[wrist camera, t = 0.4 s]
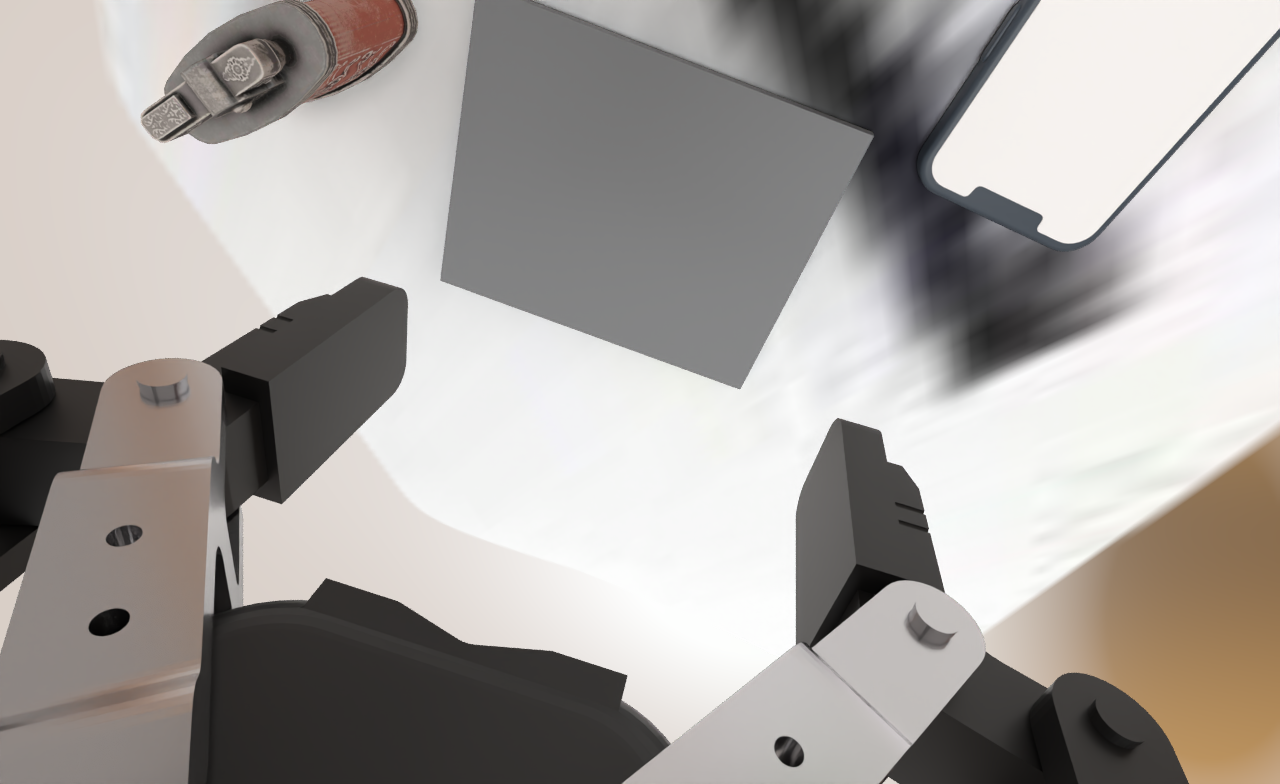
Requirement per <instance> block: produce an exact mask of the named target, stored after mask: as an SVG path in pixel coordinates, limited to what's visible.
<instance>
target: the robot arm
mask: <svg viewBox="0 0 1280 784" xmlns="http://www.w3.org/2000/svg"><path fill="white" fill-rule="evenodd" d="M407 313H408V299H407V295H406V292H405V291H404V290H403V289H402V288H399V287H395V286H392V285H389V284H385V283H382V282H378V281H375V280H372V279H368V278H365V277H361V278H358V279H356V280H355V281H353V282H352V283H350V284H349V285H347V286H345V287H344V288H342V289H341V290H339V291H338V292H336V293H335V294H333V295H328V294H326V295H322V296H319V297H315V298H312V299H308V300H304V301H301V302H298V303H296V304H295V305H293V306H291V307H290V308H288V309H286V310H285V311H283V312H281V313H280V314H278V316H277V318H274V317H273V318H272V319H270V320H268V321H267V322H265V323H264V324H262V325H260V329H257V328H256V329H254V330H252V331H251V332H249V333H247V334H246V335H244V336H242V337H241V338H239V339H238V340H236V341H234V342H233V343H231V344H229V345H228V346H226V347H225V348H223V349H221V350H220V351H218V352H216V353H215V354H213V355H211V356H210V357H208V358H207V359H205V360H203V361H202V362H200V361H196V360H190V359H181V358H165V359H155V360H149V361H144V362H141V363H137V364H134V365H131V366H128V367H126V368H123V369H121V370H119V371H118V372H116V373H114V374H113V375H112V376H111V377H109V378H108V379H107V380H106V381H105V382H94V381H82V380H71V379H58V378H52V376H51V373H50V370H49V367H48V363H47V360H46V357H45V355H44V354H43V352H42V351H41V350H40V349H38V348H36V347H34V346H32V345H29V344H26V343H22V342H17V341H9V340H0V591H2V590H3V589H4V588H5V587H7V585H9V584H10V583H11V582H12V581H14V580H15V579H16V578H18V577H19V576H20V575H21V574H22V573H24V572H25V574H24V577H23V581H22V584H21V587H20V590H19V594H18V597H17V601H16V604H15V608H14V610H13V614H12V617H11V620H10V624H9V627H8V630H7V634H6V637H5V640H4V644H3V647H2V650H1V654H0V784H882V783H883V782H884V781H885V780H886V779H887V778H888V777H890V778H891V779H893V780H894V781H896V782H897V783H899V784H1189V783H1188V780H1187V778H1186V776H1185V774H1184V772H1183V769H1182V767H1181V765H1180V763H1179V761H1178V758H1177V756H1176V754H1175V751H1174V749H1173V747H1172V745H1171V743H1170V741H1169V739H1168V738H1167V736H1166V735H1165V733H1164V732H1163V730H1162V729H1161V727H1160V726H1159V725H1158V724H1157V722H1156V721H1155V720H1154V719H1153V718H1152V717H1151V715H1149V714H1148V712H1147V711H1146V710H1145V709H1144V708H1142V707H1141V706H1140V705H1139V704H1138V703H1137V702H1136V701H1135V700H1133V699H1132V698H1131V697H1129V696H1128V695H1127V694H1126V693H1124V692H1123V691H1121V690H1119V689H1118V688H1116V687H1115V686H1113V685H1111V684H1109V683H1107V682H1106V681H1104V680H1101V679H1099V678H1096V677H1094V676H1090V675H1087V674H1081V673H1067V674H1064V675H1062V676H1060V677H1059V678H1057V680H1055V682H1054V683H1053V684H1052V685H1051V686H1050V687H1049V688H1046V687H1044V686H1042V685H1041V684H1039V683H1037V682H1035V681H1034V680H1032V679H1030V678H1028V677H1026V676H1025V675H1023V674H1021V673H1020V672H1018V671H1016V670H1014V669H1013V668H1010V667H1009V666H1007V665H1005V664H1003V663H1002V662H1000V661H999V660H997V659H996V658H994V657H992V656H991V655H990V654H988V653H987V652H986V648H985V641H984V637H983V635H982V632H981V630H980V628H979V627H978V625H977V623H976V622H975V620H974V619H973V618H972V616H971V615H970V614H969V613H968V612H967V611H966V610H965V609H964V608H963V607H962V606H961V605H960V604H959V603H958V602H956V601H955V600H954V599H953V598H951V597H950V596H948V595H947V594H945V591H944V587H943V583H942V579H941V575H940V571H939V567H938V563H937V559H936V555H935V551H934V547H933V543H932V539H931V535H930V533H928V529H929V527H928V523H927V519H926V515H924V514H923V513H924V507H923V503H922V499H921V495H920V491H919V488H918V487H917V486H916V484H915V483H914V482H913V480H912V479H911V478H910V476H909V475H908V473H907V472H906V471H905V469H904V468H903V467H902V466H899V465H896V464H893V463H889V462H887V459H886V454H885V449H884V444H883V439H882V434H881V432H880V431H879V430H877V429H873V428H870V427H867V426H863V425H860V424H856V423H853V422H850V421H846V420H843V419H839V418H838V419H836V420H835V421H834V422H833V424H832V425H831V427H830V429H829V431H828V433H827V436H826V438H825V440H824V442H823V444H822V446H821V448H820V451H819V453H818V455H817V457H816V459H815V461H814V464H813V466H812V468H811V470H810V472H809V474H808V476H807V479H806V481H805V483H804V485H803V488H802V491H801V494H800V497H799V501H798V506H797V511H796V645H795V646H793V647H792V648H791V649H789V650H788V651H787V652H786V653H784V654H783V655H782V656H781V657H779V658H778V659H777V660H776V661H774V662H773V663H772V664H771V665H769V666H768V667H767V668H766V669H764V670H763V671H762V672H761V673H759V674H758V675H757V676H756V677H754V678H753V679H752V680H751V681H749V682H748V683H747V684H746V685H744V686H743V687H742V688H741V689H739V690H738V691H737V692H736V693H734V694H733V695H732V696H731V697H729V698H728V699H727V700H726V701H724V702H723V703H722V704H721V705H719V706H718V707H717V708H716V709H714V710H713V711H712V712H711V713H709V714H708V715H707V716H706V717H704V718H703V719H702V720H701V721H699V722H698V723H697V724H696V725H694V726H693V727H692V728H691V729H689V730H688V731H687V732H686V733H684V734H683V735H682V736H681V737H679V738H678V739H677V740H676V741H674V742H673V743H672V744H670V742H669V741H668V740H667V739H666V737H665V736H664V735H663V734H662V733H661V732H660V731H659V730H658V729H657V728H656V727H655V726H654V725H653V724H652V723H651V722H650V721H649V720H648V719H647V718H645V717H644V716H643V715H642V714H640V713H639V712H638V711H637V710H635V709H634V708H633V707H631V706H630V705H628V704H626V703H624V702H623V701H622V700H621V699H622V695H623V691H624V687H625V683H626V679H627V675H624V674H621V673H618V672H615V671H612V670H609V669H606V668H603V667H600V666H597V665H594V664H590V663H587V662H584V661H581V660H578V659H575V658H572V657H569V656H565V655H562V654H559V653H556V652H553V651H544V650H532V649H520V648H507V647H496V646H483V645H473V644H468V643H465V642H462V641H460V640H458V639H457V638H455V637H454V636H452V635H450V634H449V633H447V632H446V631H444V630H443V629H441V628H439V627H438V626H436V625H435V624H433V623H431V622H430V621H428V620H427V619H425V618H424V617H422V616H420V615H419V614H417V613H416V612H414V611H413V610H411V609H409V608H408V607H406V606H404V605H403V604H402V603H400V602H398V601H395V600H392V599H389V598H386V597H383V596H380V595H376V594H373V593H370V592H367V591H364V590H361V589H358V588H355V587H352V586H348V585H346V584H342V583H339V582H336V581H333V580H330V579H327V578H326V579H325V580H324V581H323V583H322V584H321V585H320V587H319V588H318V589H317V590H316V591H315V593H314V594H313V595H312V596H311V598H310V599H309V600H308V601H307V600H286V601H285V600H284V601H272V602H264V603H257V604H252V605H247V606H243V515H242V508H241V505H242V504H243V503H244V502H245V501H246V500H247V499H248V498H250V497H251V496H252V495H255V496H258V497H261V498H265V499H267V500H270V501H274V502H277V503H280V504H282V503H283V502H284V501H286V499H287V498H289V497H290V496H291V494H293V493H294V492H295V491H296V490H297V489H298V488H299V486H301V484H303V483H304V482H305V481H306V480H307V479H308V478H309V477H310V476H311V475H312V474H313V473H314V472H315V471H316V470H317V469H318V468H319V467H320V466H321V465H322V464H323V463H324V462H325V461H326V460H327V459H328V458H329V457H330V456H331V455H332V454H333V453H334V452H335V451H336V450H337V449H338V448H339V447H340V446H341V445H342V444H343V443H344V442H345V441H346V440H347V439H348V438H349V437H350V436H351V435H352V434H353V433H354V432H355V431H356V430H357V429H358V428H359V427H360V426H362V425H363V424H364V423H365V422H366V421H367V420H368V419H369V418H370V417H371V416H372V415H373V414H374V413H375V412H376V411H377V410H378V409H379V408H380V407H381V406H382V405H383V404H384V403H385V402H386V401H387V400H388V399H389V398H390V397H391V396H392V395H393V394H394V393H395V391H396V390H397V388H398V387H399V385H400V383H401V381H402V378H403V375H404V372H405V367H406V349H407Z"/></svg>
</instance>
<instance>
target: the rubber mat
mask: <svg viewBox="0 0 1280 784" xmlns="http://www.w3.org/2000/svg"><path fill="white" fill-rule="evenodd" d="M873 137H874V135H873V132H871V131H869V130H866V129H863V128H861V127H858V126H856V125H853V124H850V123H848V122H845V121H843V120H840V119H837V118H835V117H832V116H830V115H827V114H824V113H822V112H819V111H817V110H814V109H811V108H809V107H806V106H804V105H801V104H799V103H796V102H793V101H791V100H788V99H786V98H783V97H780V96H778V95H775V94H773V93H770V92H767V91H765V90H762V89H760V88H757V87H754V86H752V85H749V84H747V83H744V82H741V81H739V80H736V79H734V78H731V77H728V76H726V75H723V74H721V73H718V72H715V71H713V70H710V69H708V68H705V67H702V66H700V65H697V64H695V63H692V62H689V61H687V60H684V59H682V58H679V57H677V56H674V55H671V54H669V53H666V52H664V51H661V50H658V49H656V48H653V47H651V46H648V45H645V44H643V43H640V42H638V41H635V40H632V39H630V38H627V37H625V36H622V35H619V34H617V33H614V32H612V31H609V30H606V29H604V28H601V27H599V26H596V25H593V24H591V23H588V22H586V21H583V20H580V19H578V18H575V17H573V16H570V15H567V14H565V13H562V12H560V11H557V10H555V9H552V8H549V7H547V6H544V5H542V4H539V3H536V2H534V1H531V0H475V6H474V14H473V22H472V30H471V38H470V46H469V54H468V62H467V70H466V78H465V86H464V95H463V103H462V111H461V119H460V127H459V135H458V143H457V151H456V159H455V167H454V175H453V183H452V191H451V199H450V207H449V215H448V223H447V231H446V239H445V247H444V255H443V263H442V271H441V279H440V281H443V282H446V283H449V284H451V285H454V286H457V287H460V288H462V289H465V290H468V291H471V292H473V293H476V294H479V295H482V296H484V297H487V298H490V299H493V300H495V301H498V302H501V303H504V304H506V305H509V306H512V307H515V308H517V309H520V310H523V311H526V312H528V313H531V314H534V315H537V316H539V317H542V318H545V319H548V320H550V321H553V322H556V323H559V324H561V325H564V326H567V327H570V328H572V329H575V330H578V331H581V332H583V333H586V334H589V335H592V336H594V337H597V338H600V339H603V340H605V341H608V342H611V343H614V344H616V345H619V346H622V347H625V348H627V349H630V350H633V351H636V352H638V353H641V354H644V355H647V356H649V357H652V358H655V359H658V360H660V361H663V362H666V363H669V364H671V365H674V366H677V367H680V368H682V369H685V370H688V371H691V372H693V373H696V374H699V375H702V376H704V377H707V378H710V379H713V380H715V381H718V382H721V383H724V384H726V385H729V386H732V387H735V388H737V389H741V387H742V385H743V383H744V381H745V379H746V377H747V375H748V374H749V372H750V370H751V368H752V366H753V364H754V362H755V360H756V358H757V356H758V355H759V353H760V351H761V349H762V347H763V345H764V343H765V341H766V339H767V338H768V336H769V334H770V332H771V330H772V328H773V326H774V324H775V322H776V321H777V319H778V317H779V315H780V313H781V311H782V309H783V307H784V305H785V303H786V302H787V300H788V298H789V296H790V294H791V292H792V290H793V288H794V286H795V285H796V283H797V281H798V279H799V277H800V275H801V273H802V271H803V269H804V268H805V266H806V264H807V262H808V260H809V258H810V256H811V254H812V252H813V250H814V249H815V247H816V245H817V243H818V241H819V239H820V237H821V235H822V233H823V232H824V230H825V228H826V226H827V224H828V222H829V220H830V218H831V216H832V215H833V213H834V211H835V209H836V207H837V205H838V203H839V201H840V199H841V197H842V196H843V194H844V192H845V190H846V188H847V186H848V184H849V182H850V180H851V179H852V177H853V175H854V173H855V171H856V169H857V167H858V165H859V163H860V161H861V160H862V158H863V156H864V154H865V152H866V150H867V148H868V146H869V144H870V143H871V141H872V139H873Z"/></svg>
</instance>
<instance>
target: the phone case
mask: <svg viewBox="0 0 1280 784" xmlns="http://www.w3.org/2000/svg"><path fill="white" fill-rule="evenodd" d="M1279 37H1280V0H1019V1H1018V3H1017V4H1016V5H1015V6H1014V7H1013V8H1012V9H1011V11H1010V12H1009V14H1008V15H1007V17H1006V19H1005V20H1004V22H1003V23H1002V25H1001V26H1000V28H999V29H998V31H997V32H996V34H995V35H994V37H993V38H992V40H991V41H990V43H989V44H988V46H987V47H986V49H985V50H984V52H983V54H982V56H981V58H980V60H979V62H978V63H977V65H976V66H975V68H974V69H973V71H972V72H971V74H970V75H969V77H968V78H967V80H966V82H965V83H964V85H963V86H962V88H961V89H960V91H959V92H958V94H957V95H956V97H955V98H954V100H953V101H952V103H951V104H950V106H949V107H948V109H947V110H946V112H945V113H944V115H943V116H942V118H941V119H940V121H939V122H938V124H937V126H936V127H935V129H934V130H933V132H932V133H931V135H930V136H929V138H928V139H927V141H926V142H925V144H924V145H923V147H922V149H921V150H920V152H919V155H918V158H917V172H918V175H919V177H920V179H921V181H922V183H923V185H924V186H925V187H926V188H927V189H928V190H929V191H931V192H932V193H934V194H936V195H938V196H940V197H942V198H945V199H947V200H949V201H951V202H953V203H955V204H957V205H959V206H962V207H964V208H966V209H968V210H970V211H972V212H974V213H976V214H978V215H981V216H983V217H985V218H987V219H989V220H991V221H993V222H995V223H998V224H1000V225H1002V226H1004V227H1006V228H1008V229H1010V230H1012V231H1014V232H1017V233H1019V234H1021V235H1023V236H1025V237H1027V238H1029V239H1031V240H1034V241H1036V242H1038V243H1040V244H1042V245H1044V246H1046V247H1048V248H1051V249H1053V250H1056V251H1062V252H1063V251H1073V250H1077V249H1080V248H1082V247H1084V246H1086V245H1088V244H1090V243H1091V242H1093V241H1094V240H1095V239H1096V238H1097V237H1098V236H1099V235H1100V234H1101V233H1102V232H1103V231H1104V230H1105V229H1106V227H1107V226H1108V225H1109V224H1110V223H1111V222H1112V221H1113V220H1114V219H1115V217H1116V216H1117V215H1118V214H1119V213H1120V212H1121V211H1122V210H1123V209H1124V208H1125V206H1126V205H1127V204H1128V203H1129V202H1130V201H1131V200H1132V199H1133V198H1134V197H1135V195H1136V194H1137V193H1138V192H1139V191H1140V190H1141V189H1142V188H1143V187H1144V186H1145V184H1146V183H1147V182H1148V181H1149V180H1150V179H1151V178H1152V177H1153V176H1154V175H1155V173H1156V172H1157V171H1158V170H1159V169H1160V168H1161V167H1162V166H1163V165H1164V164H1165V162H1166V161H1167V160H1168V159H1169V158H1170V157H1171V156H1172V155H1173V154H1174V153H1175V151H1176V150H1177V149H1178V148H1179V147H1180V146H1181V145H1182V144H1183V143H1184V142H1185V140H1186V139H1187V138H1188V137H1189V136H1190V135H1191V134H1192V133H1193V132H1194V131H1195V129H1196V128H1197V127H1198V126H1199V125H1200V124H1201V123H1202V122H1203V121H1204V120H1205V118H1206V117H1207V116H1208V115H1209V114H1210V113H1211V112H1212V111H1213V110H1214V109H1215V107H1216V106H1217V105H1218V104H1219V103H1220V102H1221V101H1222V100H1223V99H1224V98H1225V96H1226V95H1227V94H1228V93H1229V92H1230V91H1231V90H1232V89H1233V88H1234V86H1235V85H1236V84H1237V83H1238V82H1239V81H1240V80H1241V79H1242V78H1243V77H1244V75H1245V74H1246V73H1247V72H1248V71H1249V70H1250V69H1251V68H1252V67H1253V66H1254V64H1255V63H1256V62H1257V61H1258V60H1259V59H1260V58H1261V57H1262V56H1263V55H1264V53H1265V52H1266V51H1267V50H1268V49H1269V48H1270V47H1271V46H1272V45H1273V44H1274V42H1275V41H1276V40H1277V39H1278V38H1279Z"/></svg>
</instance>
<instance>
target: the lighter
mask: <svg viewBox="0 0 1280 784" xmlns="http://www.w3.org/2000/svg"><path fill="white" fill-rule="evenodd" d="M417 26H418V20H417V14H416V10H415V8H414V5H413V3H412V1H411V0H313V1H308V2H304V3H303V2H300V1H298V0H284V1H279V2H275V3H272V4H269V5H266V6H263V7H260V8H258V9H255V10H252V11H249V12H246V13H244V14H241V15H239V16H237V17H235V18H234V19H232V20H230V21H228V22H227V23H225V24H223V25H222V26H220V27H218V28H216V29H215V30H213V31H211V32H210V33H208V34H207V35H206V36H205V37H204V38H203V39H202V40H201V41H200V42H199V43H198V44H197V45H196V46H195V47H194V48H192V49H191V50H190V51H189V52H188V53H187V54H186V55H185V56H184V58H183V59H182V60H181V62H180V63H179V65H178V66H177V67H176V69H175V70H174V72H173V73H172V74H171V76H170V77H169V79H168V80H167V82H166V85H165V88H164V91H165V96H164V97H162V98H161V99H159V100H158V101H157V102H155V103H154V104H152V105H151V106H150V107H148V108H147V109H146V110H144V111H143V112H142V114H141V124H142V126H143V127H144V128H145V130H146V131H147V132H148V133H149V134H150V135H151V136H152V138H154V139H156V140H158V141H159V142H162V143H166V142H169V141H171V140H174V139H176V138H178V137H181V136H183V135H186V134H188V133H189V134H190V135H191V136H193V137H194V138H196V139H197V140H199V141H202V142H204V143H207V144H218V143H221V142H225V141H228V140H232V139H235V138H238V137H242V136H245V135H248V134H250V133H252V132H254V131H256V130H258V129H261V128H263V127H265V126H267V125H269V124H271V123H273V122H275V121H277V120H279V119H281V118H283V117H285V116H287V115H288V114H289V113H290V112H292V111H293V110H294V109H295V108H297V107H298V106H299V105H301V104H303V103H305V102H311V101H315V100H318V99H321V98H325V97H328V96H332V95H335V94H337V93H339V92H341V91H344V90H346V89H348V88H350V87H352V86H354V85H356V84H358V83H360V82H362V81H364V80H366V79H368V78H370V77H371V76H373V75H374V74H375V73H377V72H378V71H379V70H381V69H382V68H383V67H385V66H386V65H387V64H389V63H390V62H391V61H392V60H393V59H394V58H395V57H396V56H397V55H398V54H399V53H400V52H401V51H402V50H403V49H404V48H405V47H406V46H407V45H408V44H409V43H410V42H411V41H412V40H413V38H414V36H415V34H416V33H417Z"/></svg>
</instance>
